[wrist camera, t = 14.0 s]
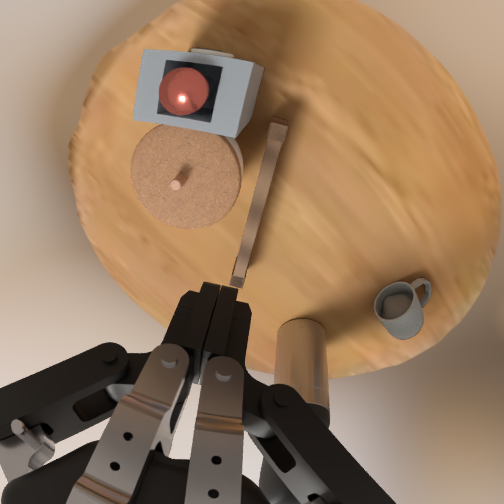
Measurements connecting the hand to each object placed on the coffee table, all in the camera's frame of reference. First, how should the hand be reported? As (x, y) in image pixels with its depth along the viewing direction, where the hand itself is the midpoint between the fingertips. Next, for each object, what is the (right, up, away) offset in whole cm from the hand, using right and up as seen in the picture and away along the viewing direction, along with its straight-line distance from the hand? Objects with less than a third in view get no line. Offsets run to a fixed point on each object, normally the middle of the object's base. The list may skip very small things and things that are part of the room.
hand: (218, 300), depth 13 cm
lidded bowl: (-5, +15, +25) cm, 30 cm away
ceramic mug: (+28, -5, +34) cm, 44 cm away
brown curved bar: (+2, +9, +28) cm, 29 cm away
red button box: (-3, +23, +19) cm, 30 cm away
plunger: (-4, +18, +13) cm, 22 cm away
